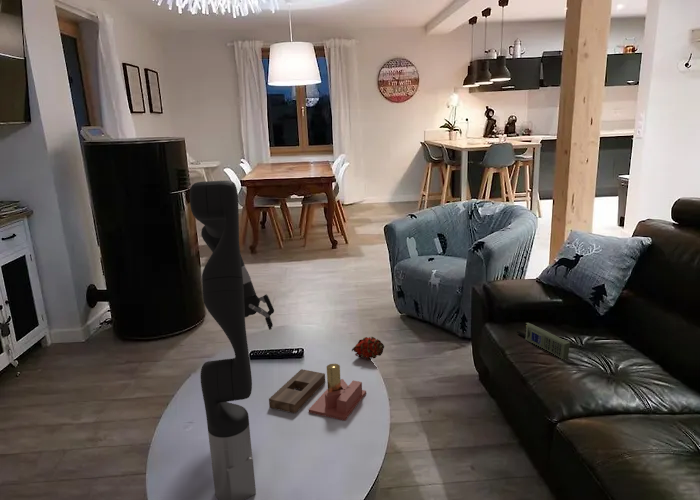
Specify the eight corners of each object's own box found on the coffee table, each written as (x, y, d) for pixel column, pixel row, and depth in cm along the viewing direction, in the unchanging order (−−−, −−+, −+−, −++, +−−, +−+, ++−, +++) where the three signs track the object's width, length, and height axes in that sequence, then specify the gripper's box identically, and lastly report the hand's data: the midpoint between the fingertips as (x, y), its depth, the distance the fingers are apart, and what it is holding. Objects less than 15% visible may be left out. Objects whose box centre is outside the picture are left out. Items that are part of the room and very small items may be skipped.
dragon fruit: (387, 361, 182) (355, 367, 182) (383, 341, 187) (352, 346, 188) (385, 351, 175) (351, 356, 176) (381, 330, 181) (349, 335, 181)
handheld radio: (562, 361, 175) (513, 335, 198) (569, 359, 176) (520, 333, 199) (564, 343, 174) (515, 319, 196) (571, 342, 175) (521, 318, 197)
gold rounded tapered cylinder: (343, 399, 153) (342, 366, 151) (333, 404, 151) (331, 371, 148) (336, 394, 156) (334, 362, 154) (325, 399, 154) (323, 366, 151)
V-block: (308, 412, 149) (307, 397, 148) (332, 386, 163) (331, 372, 162) (345, 420, 144) (344, 405, 143) (366, 393, 158) (365, 379, 157)
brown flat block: (269, 407, 152) (268, 398, 151) (301, 377, 170) (301, 369, 169) (295, 413, 148) (294, 404, 148) (325, 381, 166) (324, 373, 165)
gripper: (214, 293, 146) (233, 345, 147) (260, 276, 147) (279, 328, 148) (217, 290, 153) (236, 340, 154) (262, 275, 155) (279, 323, 156)
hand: (257, 334), depth 151 cm, fingers open, 8 cm apart
